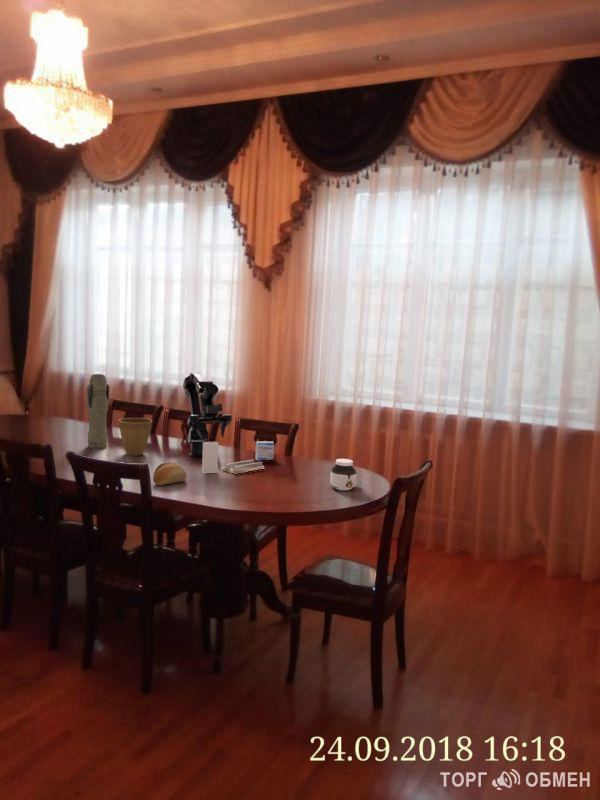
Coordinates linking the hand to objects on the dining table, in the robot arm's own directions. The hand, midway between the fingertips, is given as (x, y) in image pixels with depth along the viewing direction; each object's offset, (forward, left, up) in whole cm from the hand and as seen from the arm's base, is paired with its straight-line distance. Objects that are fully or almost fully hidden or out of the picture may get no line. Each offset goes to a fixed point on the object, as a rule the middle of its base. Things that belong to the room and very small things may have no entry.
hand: (212, 437), depth 270 cm
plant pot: (-19, -38, -14) cm, 45 cm away
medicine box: (-22, +22, -14) cm, 34 cm away
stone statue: (-29, -59, -14) cm, 68 cm away
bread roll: (+26, -12, -14) cm, 32 cm away
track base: (-1, +14, -14) cm, 20 cm away
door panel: (+7, +1, -14) cm, 15 cm away
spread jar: (+18, +57, -14) cm, 61 cm away
